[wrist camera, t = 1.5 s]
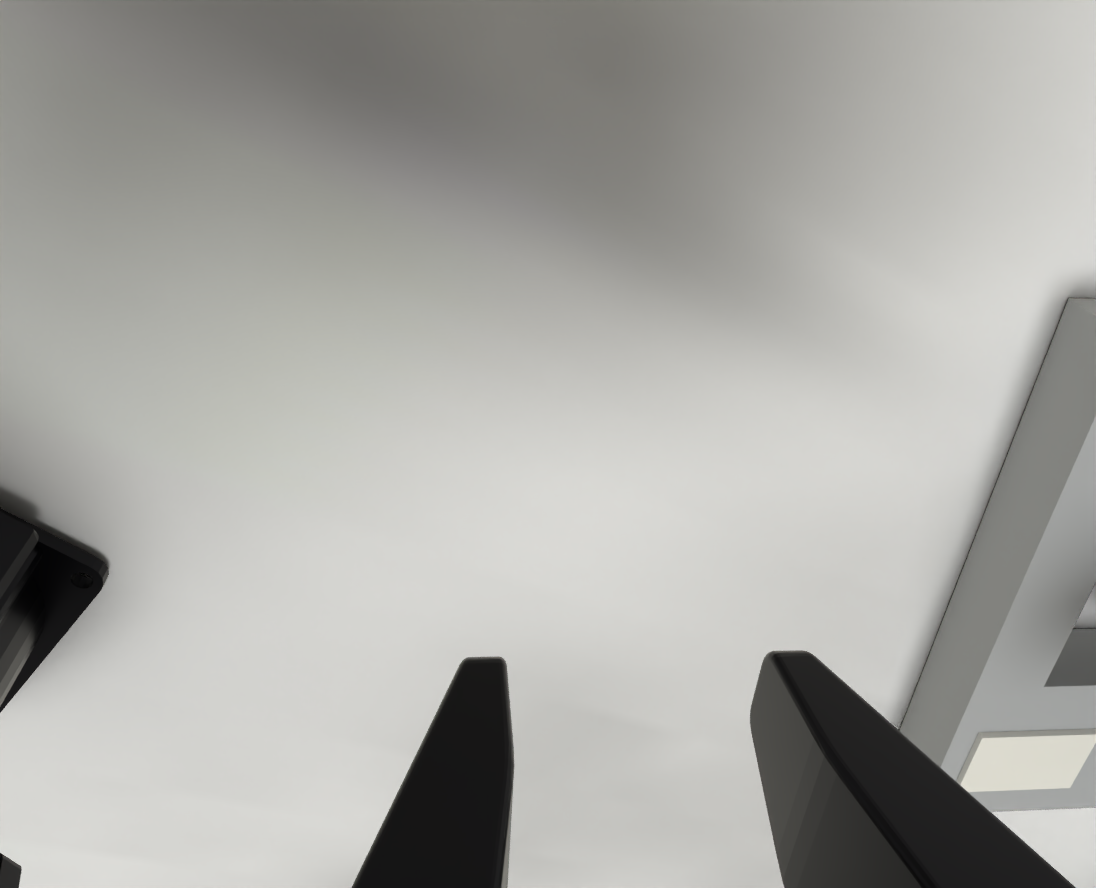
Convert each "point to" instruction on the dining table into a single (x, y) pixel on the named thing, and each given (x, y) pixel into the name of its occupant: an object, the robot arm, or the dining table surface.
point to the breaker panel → (1026, 608)
